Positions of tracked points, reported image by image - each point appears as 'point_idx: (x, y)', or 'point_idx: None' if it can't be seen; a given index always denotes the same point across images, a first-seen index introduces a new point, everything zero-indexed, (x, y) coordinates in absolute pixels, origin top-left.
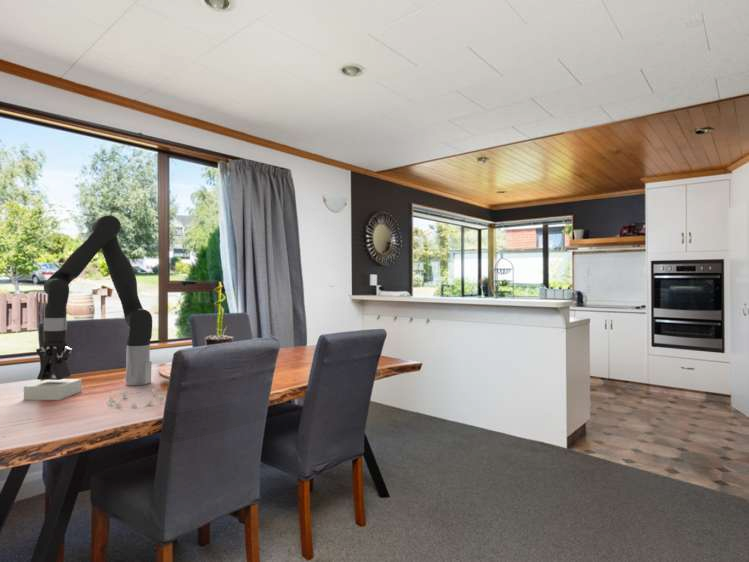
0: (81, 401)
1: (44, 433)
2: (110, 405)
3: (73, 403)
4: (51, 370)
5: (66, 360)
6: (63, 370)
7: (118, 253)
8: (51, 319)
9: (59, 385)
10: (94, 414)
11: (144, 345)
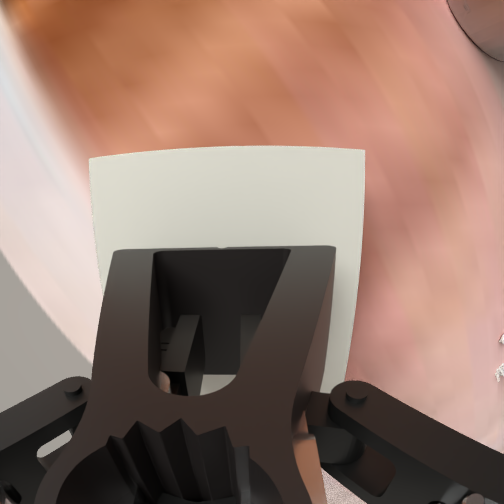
0: (424, 356)
1: None
2: (501, 375)
3: (405, 385)
4: (202, 367)
5: (375, 387)
6: (324, 350)
7: None
8: None
9: (324, 371)
10: (471, 438)
11: None
